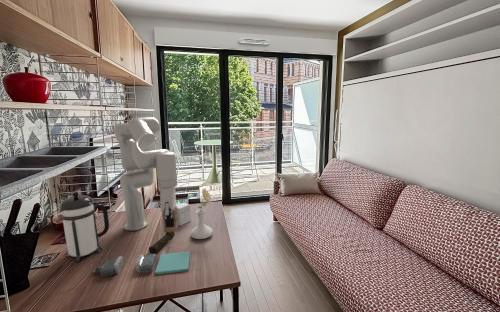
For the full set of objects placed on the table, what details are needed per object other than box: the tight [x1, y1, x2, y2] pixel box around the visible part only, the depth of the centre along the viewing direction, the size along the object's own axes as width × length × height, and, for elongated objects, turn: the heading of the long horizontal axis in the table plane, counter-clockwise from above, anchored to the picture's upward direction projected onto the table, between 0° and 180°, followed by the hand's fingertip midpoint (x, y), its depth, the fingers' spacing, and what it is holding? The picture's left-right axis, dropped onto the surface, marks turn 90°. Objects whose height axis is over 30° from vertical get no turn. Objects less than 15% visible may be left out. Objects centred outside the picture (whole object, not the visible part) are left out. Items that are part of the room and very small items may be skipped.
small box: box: [175, 202, 192, 226], centre depth 149 cm, size 8×6×10 cm
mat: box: [154, 251, 191, 275], centre depth 110 cm, size 13×13×1 cm
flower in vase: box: [190, 188, 213, 240], centre depth 132 cm, size 13×11×25 cm
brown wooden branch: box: [148, 231, 175, 255], centre depth 125 cm, size 19×4×5 cm, turn 163°
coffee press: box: [57, 191, 110, 263], centre depth 117 cm, size 17×16×30 cm
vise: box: [92, 253, 158, 277], centre depth 107 cm, size 8×23×4 cm, turn 99°
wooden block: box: [162, 205, 179, 233], centre depth 106 cm, size 5×5×9 cm
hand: (170, 223), depth 106 cm, fingers closed on wooden block, 5 cm apart
